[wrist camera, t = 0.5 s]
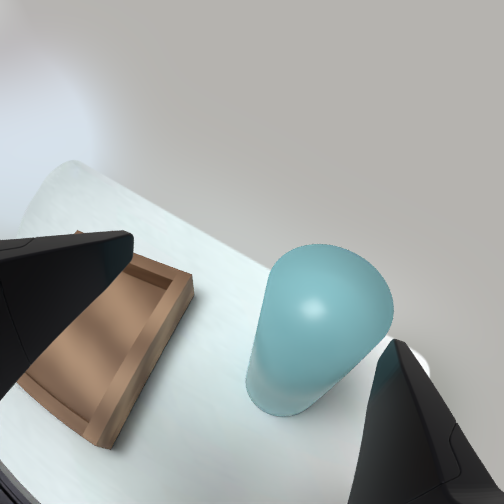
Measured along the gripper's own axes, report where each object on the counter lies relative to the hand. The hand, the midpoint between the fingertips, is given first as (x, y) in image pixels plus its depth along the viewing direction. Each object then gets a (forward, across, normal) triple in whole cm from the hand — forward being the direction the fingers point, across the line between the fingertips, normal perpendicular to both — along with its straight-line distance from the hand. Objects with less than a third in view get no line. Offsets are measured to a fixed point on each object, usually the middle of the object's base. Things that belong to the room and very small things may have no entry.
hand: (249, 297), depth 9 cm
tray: (+5, +14, +14) cm, 21 cm away
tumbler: (+9, -3, +13) cm, 16 cm away
